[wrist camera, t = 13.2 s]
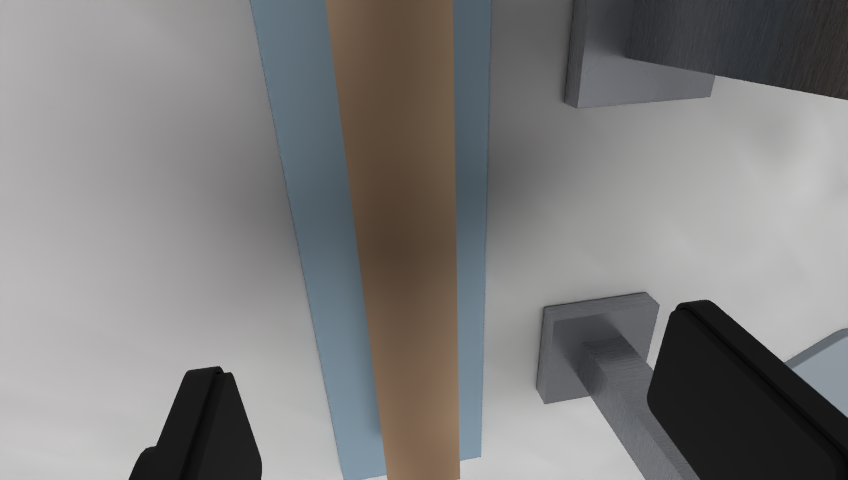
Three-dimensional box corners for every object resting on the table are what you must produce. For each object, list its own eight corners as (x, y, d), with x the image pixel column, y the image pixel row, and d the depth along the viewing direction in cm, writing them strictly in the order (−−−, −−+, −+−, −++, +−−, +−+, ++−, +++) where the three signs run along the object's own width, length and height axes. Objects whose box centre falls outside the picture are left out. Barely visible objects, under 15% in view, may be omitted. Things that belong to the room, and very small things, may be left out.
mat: (489, -220, 12) (496, -230, 12) (477, 446, 24) (480, 456, 24) (209, -225, 11) (204, -236, 11) (343, 472, 23) (344, 482, 23)
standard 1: (656, 290, 21) (1130, 711, 9) (637, 371, 24) (989, 795, 11) (533, 309, 21) (860, 803, 8) (526, 390, 23) (770, 873, 10)
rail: (426, -84, 13) (451, -107, 10) (444, 422, 22) (459, 479, 19) (315, -81, 12) (311, -104, 10) (382, 433, 22) (389, 493, 19)
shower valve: (672, 551, 23) (963, 389, 21) (613, 456, 28) (844, 317, 25) (736, 623, 29) (969, 502, 26) (678, 534, 33) (871, 425, 31)
